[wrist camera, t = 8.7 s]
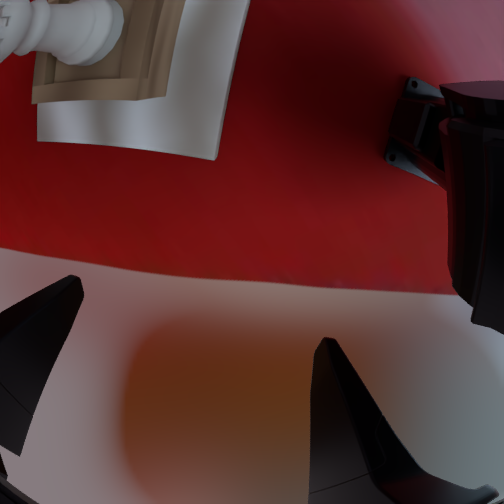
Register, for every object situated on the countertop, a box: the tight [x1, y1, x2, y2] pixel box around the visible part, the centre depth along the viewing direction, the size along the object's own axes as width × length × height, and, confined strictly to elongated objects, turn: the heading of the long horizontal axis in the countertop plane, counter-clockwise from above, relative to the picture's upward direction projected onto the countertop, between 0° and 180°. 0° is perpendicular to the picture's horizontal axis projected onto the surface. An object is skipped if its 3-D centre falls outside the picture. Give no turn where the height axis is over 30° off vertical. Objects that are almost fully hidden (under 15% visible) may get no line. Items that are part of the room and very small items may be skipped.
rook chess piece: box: [0, 0, 124, 66], centre depth 6 cm, size 4×4×8 cm
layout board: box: [32, 0, 251, 160], centre depth 11 cm, size 16×16×5 cm
